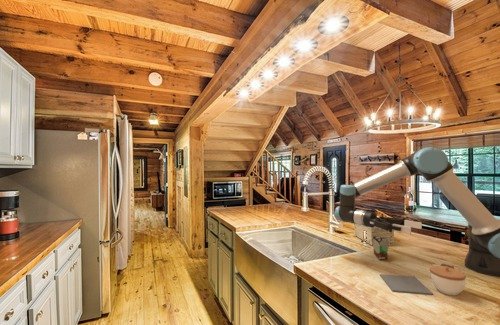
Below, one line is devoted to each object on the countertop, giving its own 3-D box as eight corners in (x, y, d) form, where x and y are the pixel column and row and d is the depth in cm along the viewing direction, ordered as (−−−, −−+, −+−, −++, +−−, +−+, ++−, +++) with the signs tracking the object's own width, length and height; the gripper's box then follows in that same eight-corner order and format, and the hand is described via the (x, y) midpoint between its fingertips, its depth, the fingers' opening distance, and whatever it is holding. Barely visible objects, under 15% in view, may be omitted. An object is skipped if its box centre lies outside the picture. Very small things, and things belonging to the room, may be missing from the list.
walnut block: (442, 272, 108) (442, 263, 108) (454, 275, 104) (453, 266, 105) (440, 274, 105) (440, 265, 105) (451, 277, 102) (451, 268, 102)
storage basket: (396, 246, 143) (396, 222, 143) (370, 247, 142) (370, 222, 142) (374, 235, 167) (374, 214, 167) (352, 235, 166) (351, 214, 166)
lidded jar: (472, 295, 88) (471, 270, 88) (455, 301, 84) (454, 275, 84) (440, 282, 98) (440, 259, 98) (423, 287, 94) (423, 263, 94)
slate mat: (414, 277, 102) (414, 276, 102) (433, 295, 88) (433, 293, 88) (379, 275, 105) (379, 274, 105) (392, 291, 91) (392, 290, 91)
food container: (393, 262, 119) (393, 242, 119) (380, 261, 120) (380, 241, 120) (384, 253, 131) (384, 235, 131) (372, 252, 132) (372, 235, 132)
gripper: (376, 222, 124) (425, 232, 107) (352, 230, 108) (405, 242, 92) (376, 208, 124) (425, 215, 107) (353, 213, 108) (405, 223, 92)
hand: (416, 228), depth 99 cm, fingers open, 13 cm apart
